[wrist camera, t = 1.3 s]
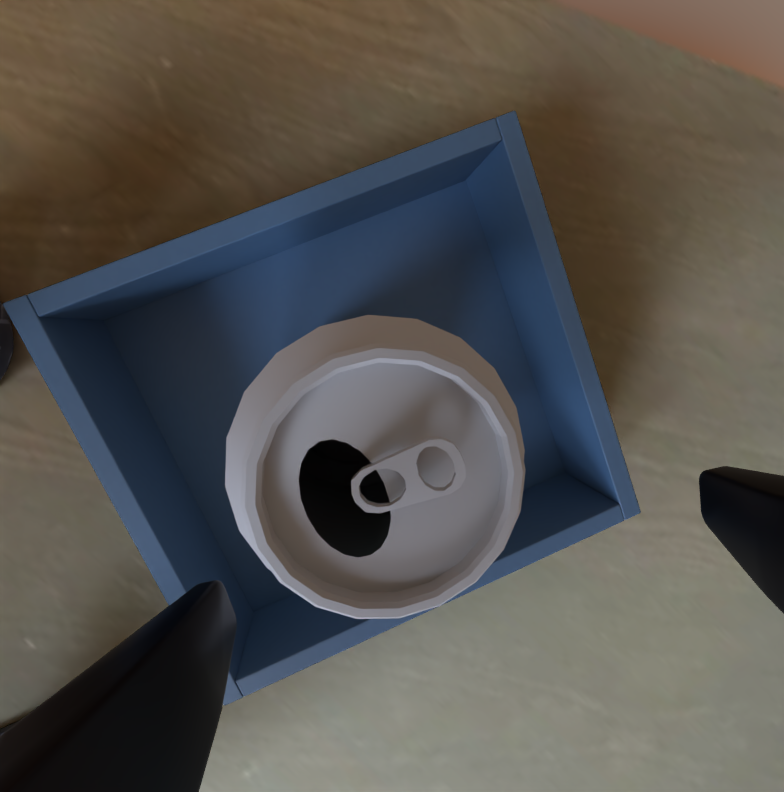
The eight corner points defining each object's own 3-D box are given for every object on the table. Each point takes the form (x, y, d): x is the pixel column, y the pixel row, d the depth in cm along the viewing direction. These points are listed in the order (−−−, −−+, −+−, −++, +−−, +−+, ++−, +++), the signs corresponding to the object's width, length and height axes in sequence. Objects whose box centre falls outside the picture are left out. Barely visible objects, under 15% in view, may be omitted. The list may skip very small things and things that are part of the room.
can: (245, 361, 20) (134, 401, 9) (398, 297, 21) (490, 253, 9) (314, 505, 22) (299, 709, 10) (456, 442, 22) (599, 565, 11)
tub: (245, 627, 22) (224, 706, 18) (80, 310, 19) (1, 303, 15) (579, 477, 24) (641, 512, 19) (473, 159, 21) (515, 109, 16)
